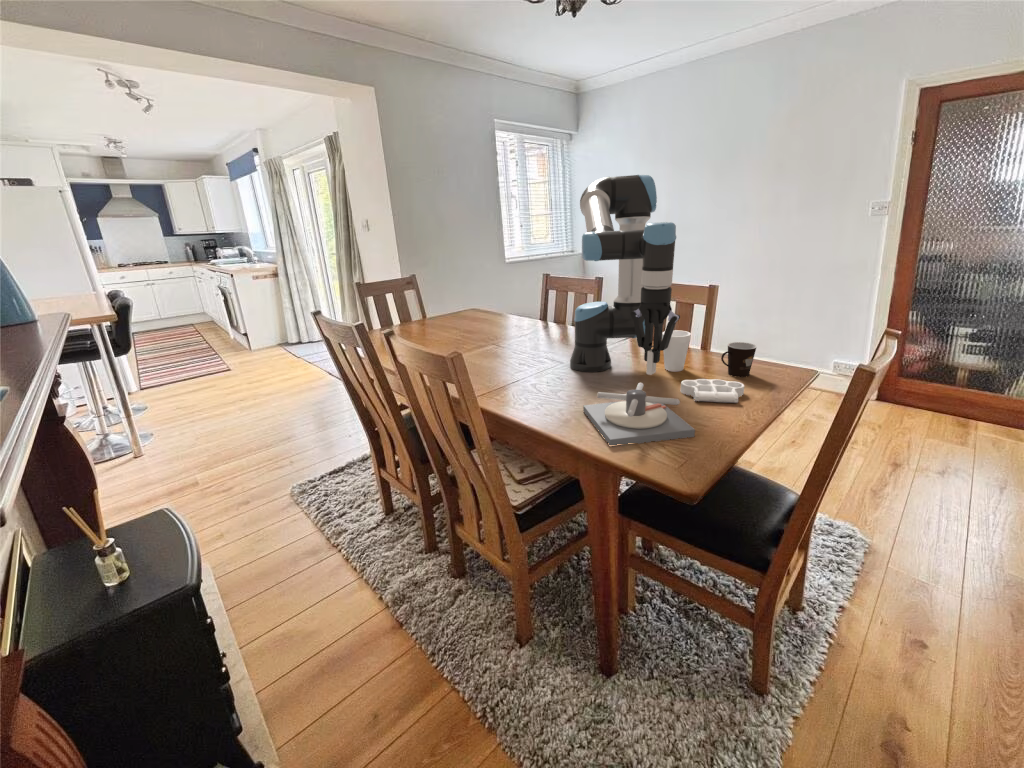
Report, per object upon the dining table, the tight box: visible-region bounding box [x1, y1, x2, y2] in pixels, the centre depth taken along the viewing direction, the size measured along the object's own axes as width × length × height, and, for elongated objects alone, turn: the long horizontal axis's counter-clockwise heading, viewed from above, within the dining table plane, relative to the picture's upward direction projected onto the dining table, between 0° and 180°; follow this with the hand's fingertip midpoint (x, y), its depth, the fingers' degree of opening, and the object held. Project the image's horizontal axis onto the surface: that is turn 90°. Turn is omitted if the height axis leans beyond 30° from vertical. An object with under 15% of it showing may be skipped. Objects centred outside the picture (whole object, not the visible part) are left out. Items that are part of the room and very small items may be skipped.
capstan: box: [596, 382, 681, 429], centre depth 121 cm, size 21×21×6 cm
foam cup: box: [662, 329, 692, 373], centre depth 161 cm, size 10×9×13 cm
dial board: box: [582, 400, 696, 446], centre depth 123 cm, size 22×22×2 cm
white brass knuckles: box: [679, 378, 745, 404], centre depth 139 cm, size 3×18×15 cm
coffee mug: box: [720, 341, 757, 378], centre depth 153 cm, size 12×9×10 cm
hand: (651, 372), depth 125 cm, fingers closed
